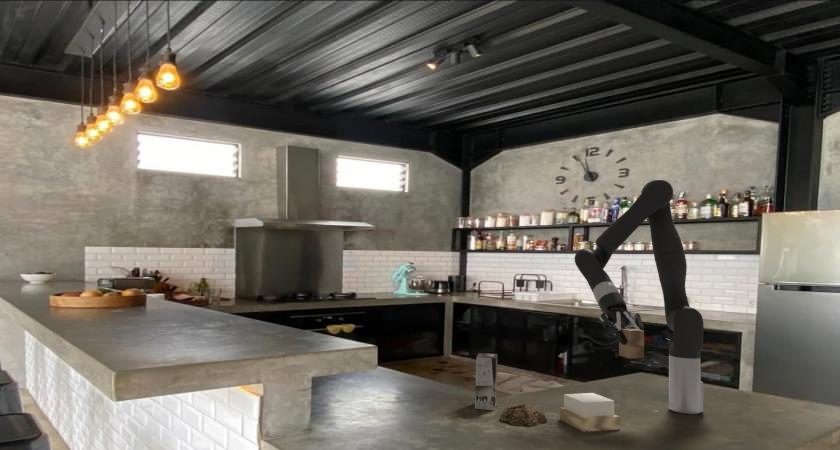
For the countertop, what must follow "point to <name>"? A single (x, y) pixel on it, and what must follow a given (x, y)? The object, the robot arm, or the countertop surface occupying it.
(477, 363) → the coffee box
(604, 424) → the tower base
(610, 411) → the tower top
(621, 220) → the robot arm
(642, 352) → the walnut block
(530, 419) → the bread roll
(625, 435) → the countertop surface
